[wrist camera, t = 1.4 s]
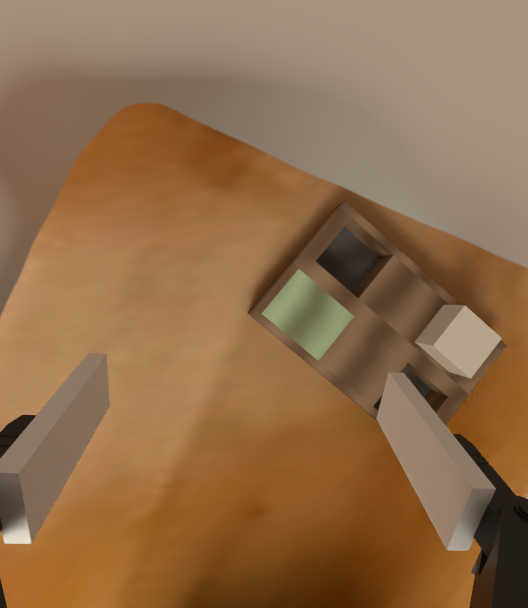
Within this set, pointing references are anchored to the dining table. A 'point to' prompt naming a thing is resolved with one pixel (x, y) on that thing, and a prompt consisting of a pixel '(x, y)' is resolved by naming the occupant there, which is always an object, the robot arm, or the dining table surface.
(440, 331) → the block
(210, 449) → the dining table surface
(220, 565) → the dining table surface
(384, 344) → the board
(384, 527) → the dining table surface
